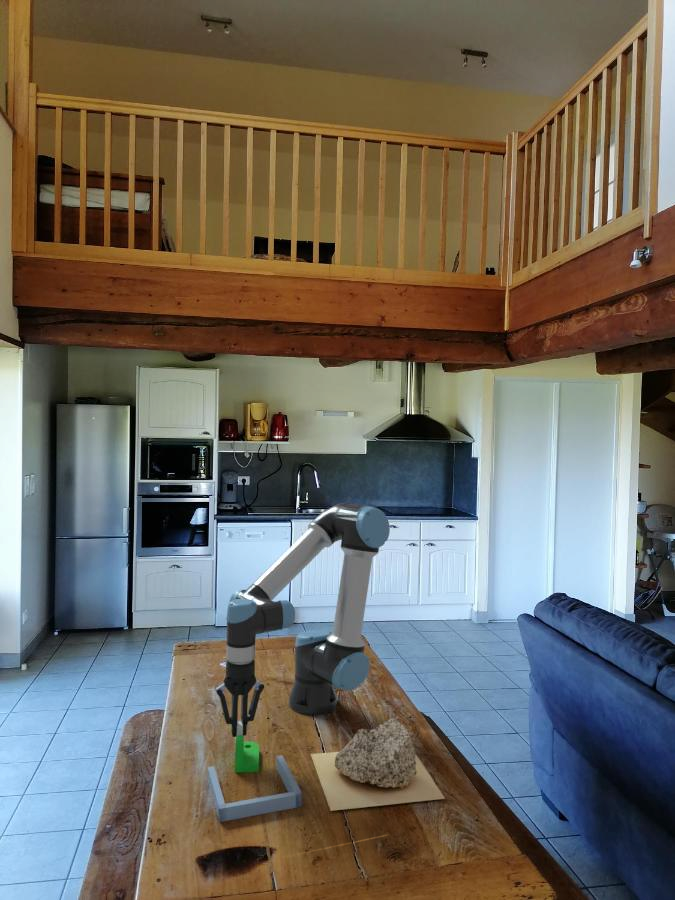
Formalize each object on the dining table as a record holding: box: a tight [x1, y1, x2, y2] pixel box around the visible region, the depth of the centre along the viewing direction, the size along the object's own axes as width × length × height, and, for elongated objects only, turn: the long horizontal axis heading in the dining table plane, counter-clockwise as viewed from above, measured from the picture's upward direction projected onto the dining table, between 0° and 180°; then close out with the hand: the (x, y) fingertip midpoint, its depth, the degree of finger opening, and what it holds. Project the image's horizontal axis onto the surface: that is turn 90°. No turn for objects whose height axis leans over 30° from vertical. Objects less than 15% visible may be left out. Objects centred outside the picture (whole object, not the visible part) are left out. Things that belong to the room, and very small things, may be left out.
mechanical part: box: [234, 736, 260, 774], centre depth 165 cm, size 12×6×8 cm, turn 7°
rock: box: [310, 718, 446, 812], centre depth 157 cm, size 28×22×16 cm
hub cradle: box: [207, 755, 303, 823], centre depth 151 cm, size 19×18×3 cm
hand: (238, 747), depth 166 cm, fingers closed
